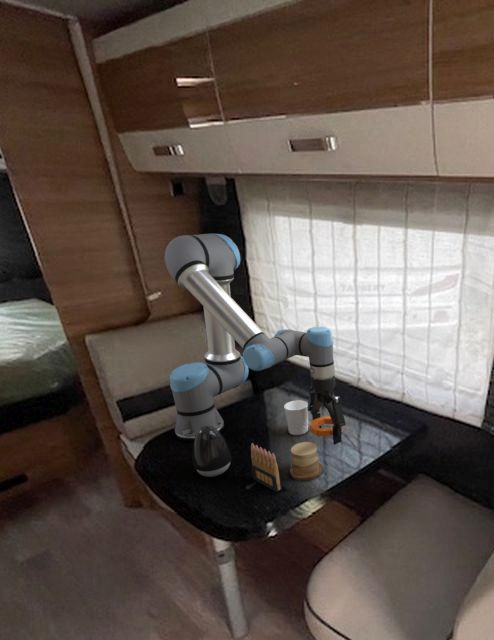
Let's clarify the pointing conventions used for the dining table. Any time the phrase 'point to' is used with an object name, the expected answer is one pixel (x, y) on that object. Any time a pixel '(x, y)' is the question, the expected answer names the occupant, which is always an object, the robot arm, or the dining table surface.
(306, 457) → the stacking tower
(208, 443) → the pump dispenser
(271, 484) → the ammunition clip
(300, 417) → the white cup
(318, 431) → the orange ring
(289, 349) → the robot arm
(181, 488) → the dining table surface
